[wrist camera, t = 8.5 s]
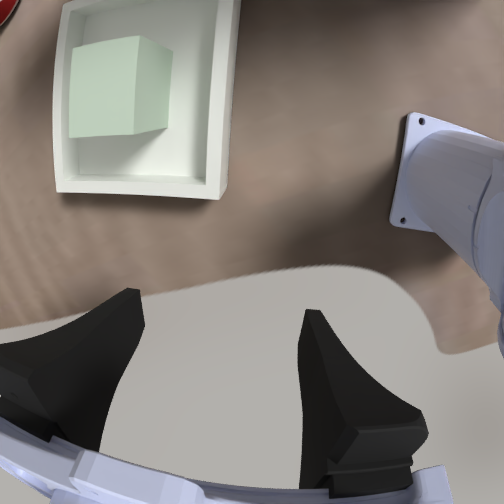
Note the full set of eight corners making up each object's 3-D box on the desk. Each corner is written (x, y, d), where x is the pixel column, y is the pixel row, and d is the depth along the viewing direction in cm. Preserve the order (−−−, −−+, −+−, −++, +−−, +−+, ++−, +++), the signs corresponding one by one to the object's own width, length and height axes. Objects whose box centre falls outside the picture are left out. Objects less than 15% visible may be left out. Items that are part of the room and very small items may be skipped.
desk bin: (242, -9, 14) (236, -27, 11) (227, 187, 20) (219, 199, 17) (86, 12, 14) (63, 4, 12) (79, 181, 20) (56, 192, 18)
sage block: (173, 51, 15) (139, 35, 11) (168, 127, 17) (133, 134, 13) (116, 57, 15) (73, 48, 11) (112, 128, 17) (68, 138, 13)
